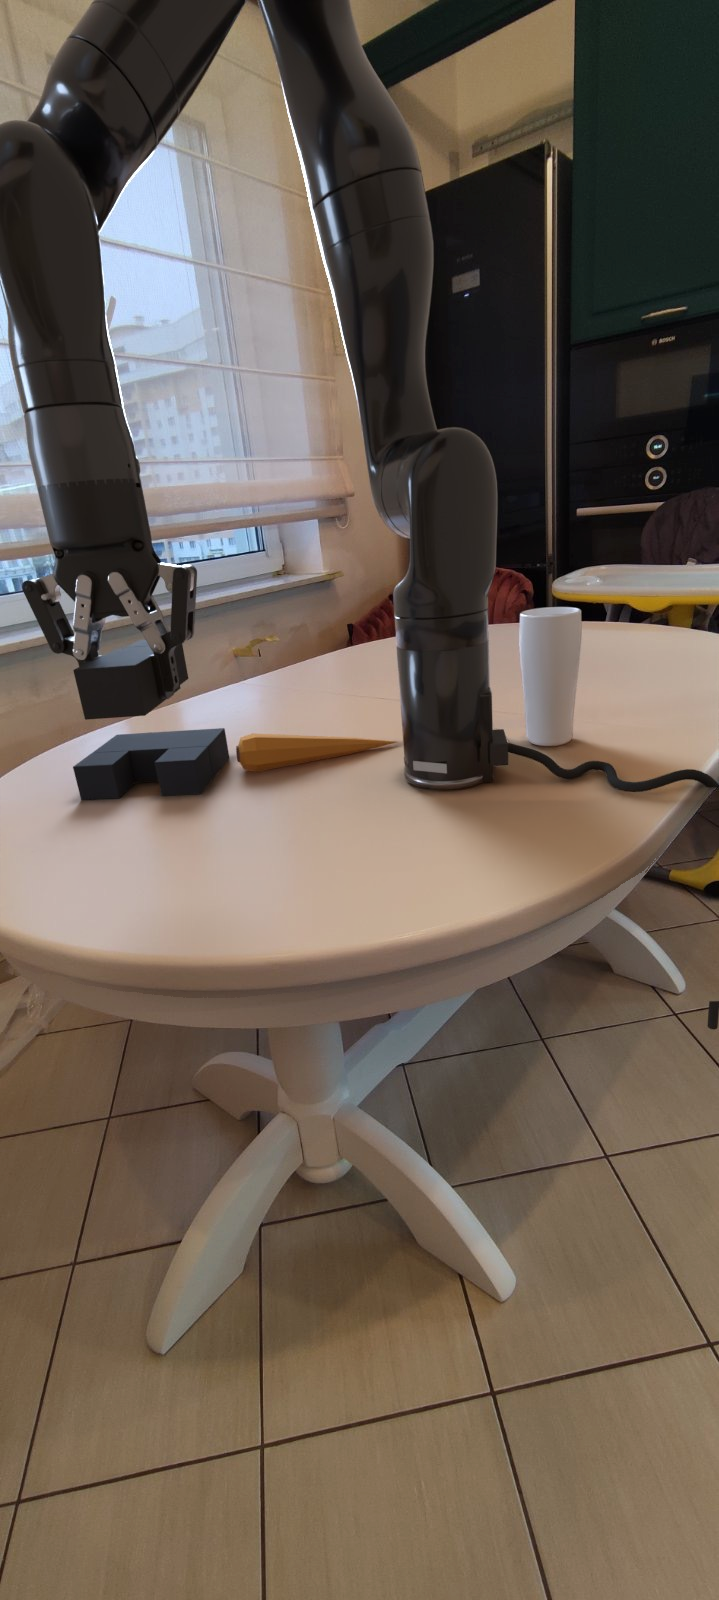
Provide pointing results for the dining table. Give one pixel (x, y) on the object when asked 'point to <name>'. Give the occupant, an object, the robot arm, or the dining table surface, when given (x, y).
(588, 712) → the dining table surface
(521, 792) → the dining table surface
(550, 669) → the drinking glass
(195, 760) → the dark grey u-shaped block
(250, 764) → the carrot
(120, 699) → the black rectangular block
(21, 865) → the dining table surface
